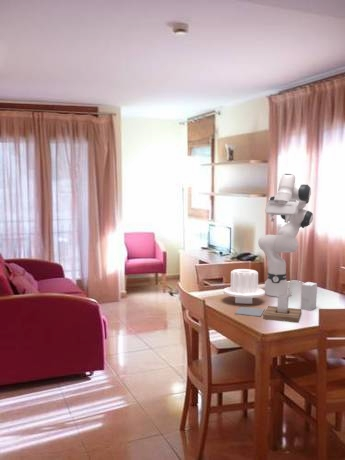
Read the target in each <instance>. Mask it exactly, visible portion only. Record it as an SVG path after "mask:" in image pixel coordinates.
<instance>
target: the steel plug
mask: <svg viewBox="0 0 345 460" xmlns="http://www.w3.org/2000/svg"><path fill="white" fill-rule="evenodd" d="M277 307H278V308H277V313H284V314H288V308H289V296H287V295H279V296H278V297H277Z"/></svg>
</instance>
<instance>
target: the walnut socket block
mask: <svg viewBox="0 0 345 460" xmlns="http://www.w3.org/2000/svg"><path fill="white" fill-rule="evenodd" d="M277 308H278V306H272V305H268V306H267V307H266V309H265V310H264V312H263V314H262V315H263V316H262V319H263V320H270V321H280V322H289V323H297V324H299V321H300V319H301V315H302V309H301V308H296V307H294V308H293V307H288V314H284V313H277Z"/></svg>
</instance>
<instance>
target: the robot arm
mask: <svg viewBox="0 0 345 460" xmlns="http://www.w3.org/2000/svg"><path fill="white" fill-rule="evenodd" d="M295 182H296V175H295V174H291V173H284V174H282V175H281V178H280V181H279V184H278V191H277V194H275V195H273V196H270V197H268V201H267V203H266V206H265V209H264V211H265V214H267V215H269V217H270V222H272V223H274V222H275V218H274V216H280V218H281V219H282V220H284V223H285V224H284V225H283V226H282V227H280V228H279V230H278V231H277V232H276V234H263V235H261V236H260V237H259V239H258V248H260V250H261V251H263V253H264V254H265V255H266V258H267V262H268V267H267V268H268V269H267V270H268V272H267V279H266V280H265V281H264V289H263V290H264V291H265V295H267V296H270V297H277V298H278V296H279V295H287V296H288V297H289V296H290V297H291V296H292V292H291V290H290V287H289V281H287V277H288V276H287V271H286V270H287V263H286V262H287V261H286V260H285V259H284V258H283V257H281V256H280V255H279V253H286V254H289V253H296V251H297V249H298V247H299V242H298V239H297V238H296V237H297V235H298V233H299V231H300V228H302V229H304V228H306V227H309V226H310V225H311V224H312V223H313V220H314V214H313V213H312V211H310V210H307V209H305V207H306V205H307V204H309V202H310V197H311V195H312V189H311V187H310V186H309V185H308V184H300V183H295Z"/></svg>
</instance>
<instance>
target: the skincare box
mask: <svg viewBox="0 0 345 460" xmlns="http://www.w3.org/2000/svg"><path fill="white" fill-rule="evenodd" d="M317 294H318V283H316V282H311V281H307V282H304V283H302V284H301V293H300V309H301V310H305V311H310V312H311V311H312V310H314V309H316V308H317V297H318V296H317Z"/></svg>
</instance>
